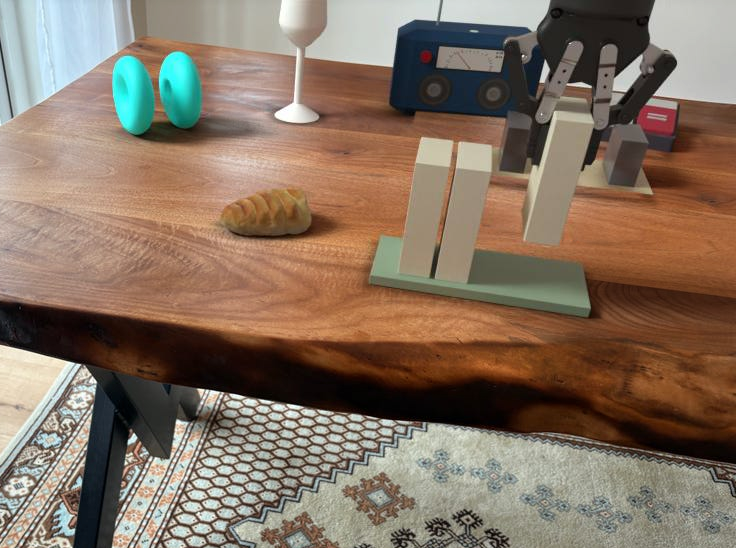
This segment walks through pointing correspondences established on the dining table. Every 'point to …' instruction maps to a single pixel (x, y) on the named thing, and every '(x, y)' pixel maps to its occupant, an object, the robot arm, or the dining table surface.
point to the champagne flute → (301, 48)
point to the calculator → (653, 122)
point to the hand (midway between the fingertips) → (556, 164)
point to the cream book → (557, 172)
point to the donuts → (175, 92)
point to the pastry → (268, 213)
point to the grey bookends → (610, 173)
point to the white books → (468, 242)
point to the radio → (457, 68)
